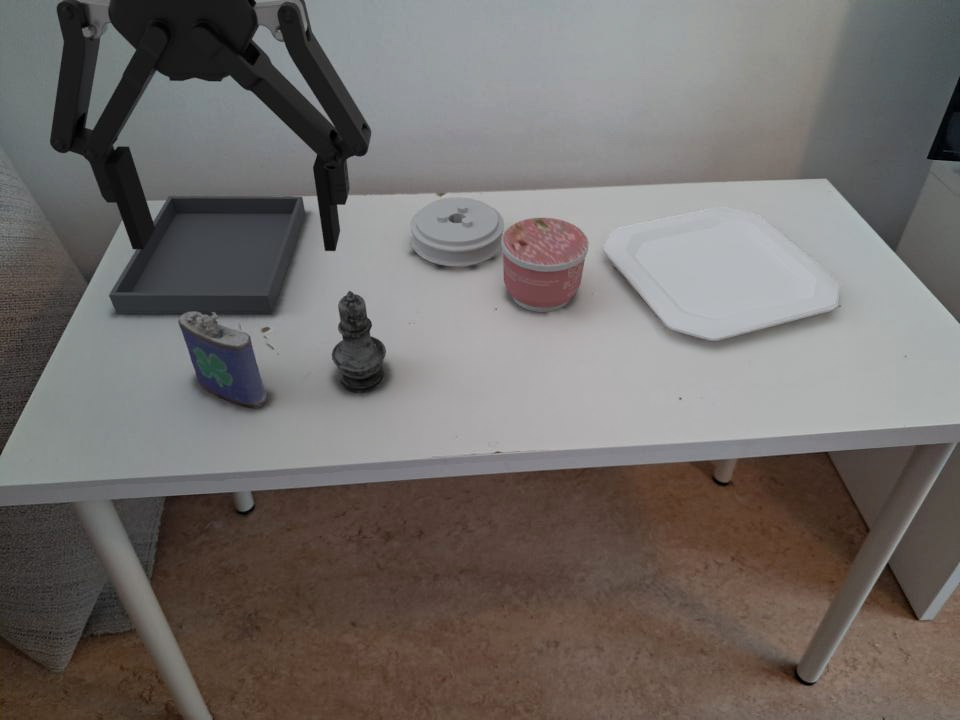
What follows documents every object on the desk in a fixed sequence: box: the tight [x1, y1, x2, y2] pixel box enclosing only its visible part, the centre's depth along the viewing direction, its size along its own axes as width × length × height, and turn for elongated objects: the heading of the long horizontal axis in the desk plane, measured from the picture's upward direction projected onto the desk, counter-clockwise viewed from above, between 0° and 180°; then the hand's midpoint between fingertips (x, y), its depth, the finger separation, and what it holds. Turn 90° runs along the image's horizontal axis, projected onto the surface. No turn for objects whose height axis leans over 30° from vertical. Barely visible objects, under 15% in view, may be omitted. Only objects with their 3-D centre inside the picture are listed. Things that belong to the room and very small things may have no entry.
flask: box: [177, 311, 268, 409], centre depth 76 cm, size 9×3×11 cm, turn 61°
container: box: [501, 217, 590, 313], centre depth 90 cm, size 10×10×8 cm
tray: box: [108, 195, 306, 315], centre depth 97 cm, size 23×19×3 cm
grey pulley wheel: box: [410, 196, 505, 267], centre depth 99 cm, size 13×13×5 cm
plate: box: [602, 205, 842, 342], centre depth 95 cm, size 25×25×2 cm
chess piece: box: [331, 290, 387, 394], centre depth 78 cm, size 6×6×12 cm
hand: (239, 240), depth 53 cm, fingers open, 13 cm apart
